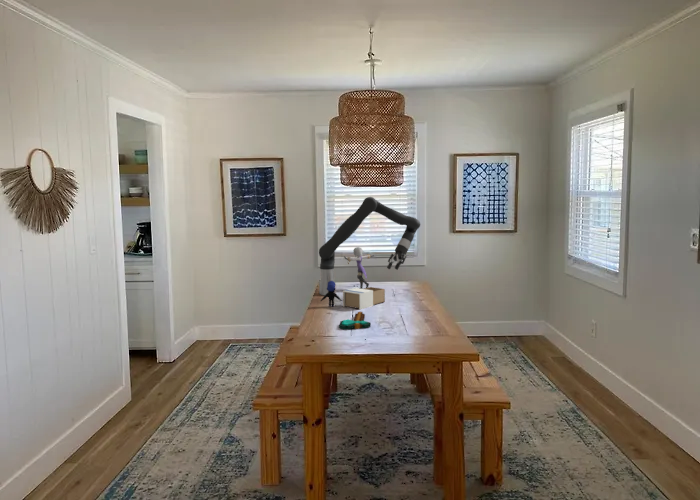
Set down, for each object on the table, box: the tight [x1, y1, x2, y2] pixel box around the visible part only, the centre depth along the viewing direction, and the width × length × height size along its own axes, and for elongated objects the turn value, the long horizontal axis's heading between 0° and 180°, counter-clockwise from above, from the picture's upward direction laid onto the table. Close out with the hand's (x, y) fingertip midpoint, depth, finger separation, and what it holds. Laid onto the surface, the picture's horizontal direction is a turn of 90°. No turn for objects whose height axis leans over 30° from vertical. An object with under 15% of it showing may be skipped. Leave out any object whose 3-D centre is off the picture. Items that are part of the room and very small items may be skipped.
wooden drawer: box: [344, 286, 386, 309], centre depth 334 cm, size 24×11×8 cm, turn 139°
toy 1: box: [320, 280, 343, 307], centre depth 330 cm, size 13×6×15 cm, turn 84°
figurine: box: [343, 246, 375, 289], centre depth 381 cm, size 17×21×30 cm
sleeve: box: [342, 287, 374, 310], centre depth 328 cm, size 12×14×10 cm
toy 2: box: [338, 311, 372, 330], centre depth 289 cm, size 16×3×30 cm
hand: (392, 268), depth 348 cm, fingers open, 8 cm apart
